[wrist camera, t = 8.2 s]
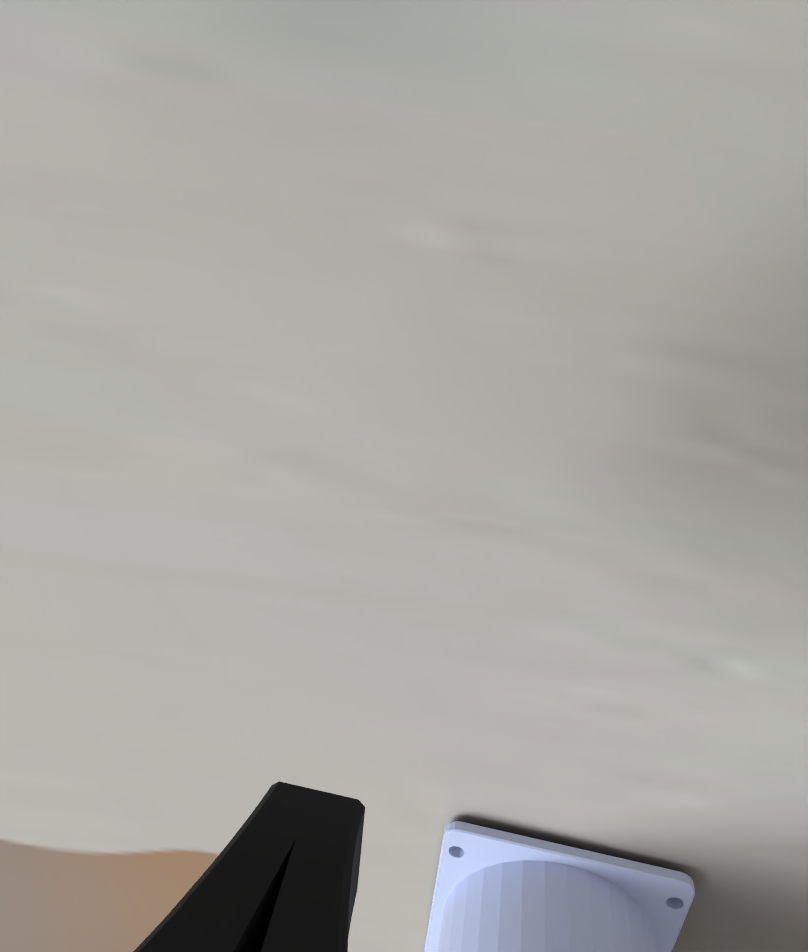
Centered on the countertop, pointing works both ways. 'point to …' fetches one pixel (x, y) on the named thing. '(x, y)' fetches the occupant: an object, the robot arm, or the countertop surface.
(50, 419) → the countertop surface
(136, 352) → the countertop surface
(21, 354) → the countertop surface
